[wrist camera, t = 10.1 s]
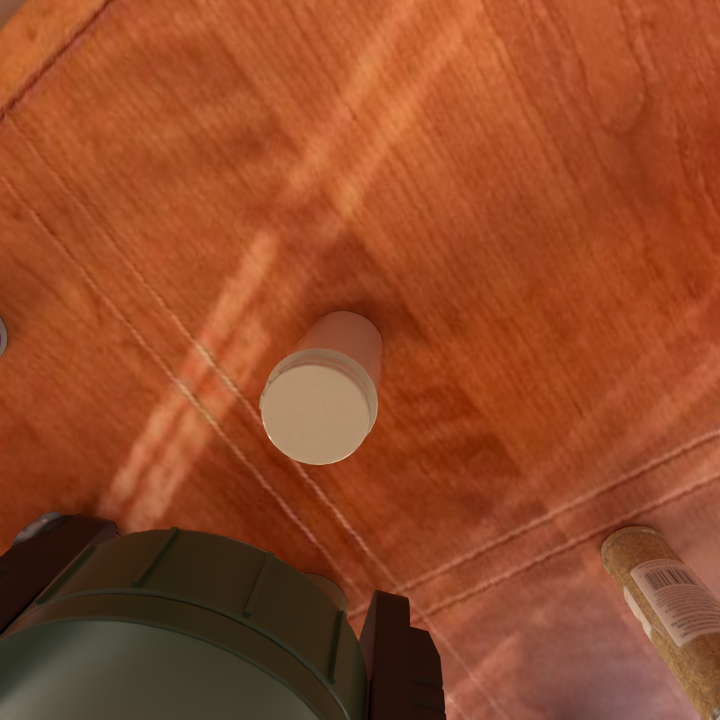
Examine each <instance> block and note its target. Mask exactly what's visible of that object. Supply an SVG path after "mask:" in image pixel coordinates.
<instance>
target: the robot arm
mask: <svg viewBox="0 0 720 720" xmlns="http://www.w3.org/2000/svg"><path fill="white" fill-rule="evenodd" d="M116 529H117V527H116V523H115V522H113V521H109V520H106V519H102V518H98V517H94V516H90V515H86V514H82V513H80V514H77V515H75V516H74V517H72V518H71V519H70V520H69V521H68V522H67V523H65V524H64V525H63V526H62V527H61V528H60V529H59V530H58V531H56V532H55V533H54V534H52V533H48V532H41V533H39V534H37V535H35V536H33V537H31V538H29V539H27V540H25V541H23V542H21V543H19V544H17V545H15V546H13V547H12V548H11V549H10V550H8V551H7V552H6V553H5V554H3V555H2V556H1V557H0V635H1V634H2V633H3V632H5V631H6V629H7V628H8V627H9V626H10V625H11V624H12V623H13V622H14V621H15V620H16V619H17V618H18V617H19V616H20V615H21V613H22V612H23V611H24V610H25V609H26V608H27V607H28V606H29V605H30V604H31V603H32V602H33V601H34V600H35V599H36V598H37V597H38V596H39V595H40V594H41V593H42V592H43V591H44V590H45V589H46V588H47V587H48V586H49V584H50V583H51V582H52V581H53V580H54V579H55V578H56V577H57V576H58V575H59V574H60V573H61V572H62V571H63V570H64V569H65V568H66V567H67V566H68V565H69V564H70V563H71V562H72V561H73V560H74V559H75V558H76V557H77V556H78V555H79V554H80V553H81V552H82V551H83V550H84V549H85V548H86V547H87V546H88V545H89V544H91V543H93V544H94V545H95V546H97V545H99V544H102V543H104V542H106V541H109V540H111V539H113V538H116ZM359 644H360V647H361V650H362V654H363V657H364V661H365V664H366V671H367V680H368V681H370V690H369V705H368V720H446V714H445V700H444V690H442V686H443V680H442V670H441V660H440V655H439V653H438V651H437V649H436V647H435V645H434V642H433V640H432V638H431V636H430V634H429V632H428V631H425V630H421V629H417V628H414V627H410V607H409V599H408V598H406V597H402V596H399V595H395V594H391V593H387V592H383V591H379V590H375V592H374V594H373V597H372V600H371V603H370V607H369V610H368V613H367V616H366V620H365V623H364V626H363V629H362V632H361V636H360V639H359Z"/></svg>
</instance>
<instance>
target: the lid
mask: <svg viewBox="0 0 720 720" xmlns="http://www.w3.org/2000/svg"><path fill="white" fill-rule="evenodd" d="M346 617H347V614H346V613H345V611H344V610H342V611H341V610H340V609H339V608H338V607H337V606H336V604H335V603H334V602H333V601H332V600H331V599H330V597H329V596H328V595H327V594H326V593H325V592H324V591H323V590H322V589H321V588H319V587H318V586H317V585H316V584H315V583H314V582H313V581H312V580H311V579H309V578H308V577H307V576H305V575H304V574H303V573H301V572H300V571H299V570H297V569H296V568H294V567H293V566H292V565H290V564H288V563H286V562H285V561H283V560H281V559H280V558H278V557H276V556H275V554H274V553H272V552H270V551H269V552H267V551H264V550H262V549H260V548H257V547H255V546H253V545H251V544H248V543H245V542H242V541H239V540H236V539H233V538H230V537H226V536H222V535H217V534H213V533H208V532H203V531H194V530H184V529H179V528H178V527H172V528H171V529H155V530H148V531H141V532H134V533H130V534H127V535H123V536H119V537H116V538H113V539H111V540H109V541H106V542H104V543H102V544H99V545H97V546H95V545H94V544H93V543H91V544H89V545H88V546H87V547H86V548H85V549H84V550H83V551H82V552H81V553H80V554H79V555H78V556H77V557H76V558H75V559H74V560H73V561H72V562H71V563H70V564H69V565H68V566H67V567H66V568H65V569H64V570H63V571H62V572H61V573H60V574H59V575H58V576H57V577H56V578H55V579H54V580H53V581H52V582H51V583H50V584H49V586H48V587H47V588H46V589H45V590H44V591H43V592H42V593H41V594H40V595H39V596H38V597H37V598H36V599H35V600H34V601H33V602H32V603H31V604H30V605H29V606H28V607H27V608H26V609H25V610H24V611H23V612H22V613H21V615H20V616H19V617H18V618H17V619H16V620H15V621H14V622H13V623H12V624H11V625H10V626H9V627H8V628H7V629H6V631H5V632H3V633H2V634H1V635H0V720H368V705H369V690H370V681H368V680H367V671H366V664H365V661H364V657H363V654H362V650H361V647H360V644H359V642H358V640H357V638H356V636H355V634H354V631H353V629H352V627H351V626H350V624H349V623H348V621H347V620H346Z"/></svg>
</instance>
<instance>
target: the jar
mask: <svg viewBox="0 0 720 720" xmlns="http://www.w3.org/2000/svg"><path fill="white" fill-rule="evenodd" d="M383 357H384V345H383V341H382V338H381V335H380V333H379V332H378V330H377V329H376V327H375V326H374V325H373V324H372V323H371V322H370V321H369V320H368V319H366V318H365V317H363V316H361V315H359V314H357V313H353V312H348V311H336V312H332V313H329V314H326V315H324V316H322V317H321V318H319V319H318V320H317V321H316V322H315V323H314V324H313V325H312V326H311V327H310V328H309V329H308V330H307V332H306V333H305V334H304V335H303V336H302V337H301V338H300V339H299V341H298V342H297V343H296V344H295V345H294V346H293V347H292V348H291V350H290V351H289V352H288V353H287V354H286V355H285V356H284V357H283V359H282V360H281V361H280V362H279V363H278V364H277V365H276V367H275V368H274V369H273V370H272V372H271V374H270V375H269V378H268V380H267V382H266V386H265V389H264V391H263V393H262V395H261V399H260V405H259V409H261V414H262V421H263V425H264V428H265V430H266V433H267V435H268V436H269V438H270V440H271V441H272V442H273V443H274V445H275V446H276V447H277V448H278V449H279V450H280V451H282V452H283V453H284V454H286V455H287V456H289V457H291V458H292V459H295V460H297V461H300V462H303V463H307V464H315V465H323V464H330V463H334V462H337V461H340V460H342V459H344V458H346V457H347V456H349V455H350V454H352V453H353V452H354V451H355V450H356V449H357V448H358V447H359V446H360V444H361V443H362V442H363V440H364V438H365V437H366V436H367V435H368V433H369V432H370V431H371V429H372V427H373V425H374V423H375V420H376V417H377V411H378V403H379V394H380V385H381V375H382V366H383Z"/></svg>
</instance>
